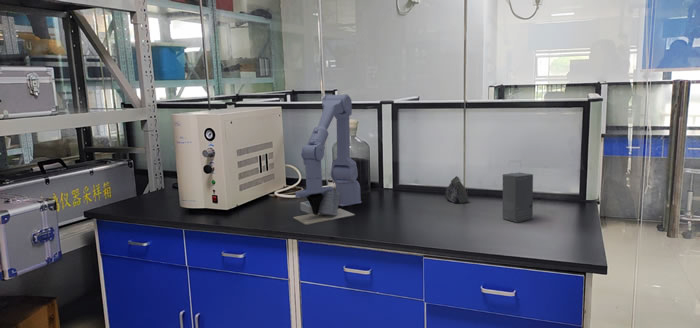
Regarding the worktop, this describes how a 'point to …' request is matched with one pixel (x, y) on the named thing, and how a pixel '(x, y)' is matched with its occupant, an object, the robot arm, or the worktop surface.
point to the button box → (306, 207)
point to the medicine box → (329, 203)
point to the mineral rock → (456, 191)
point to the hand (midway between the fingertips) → (315, 214)
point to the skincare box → (517, 197)
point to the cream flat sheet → (322, 217)
